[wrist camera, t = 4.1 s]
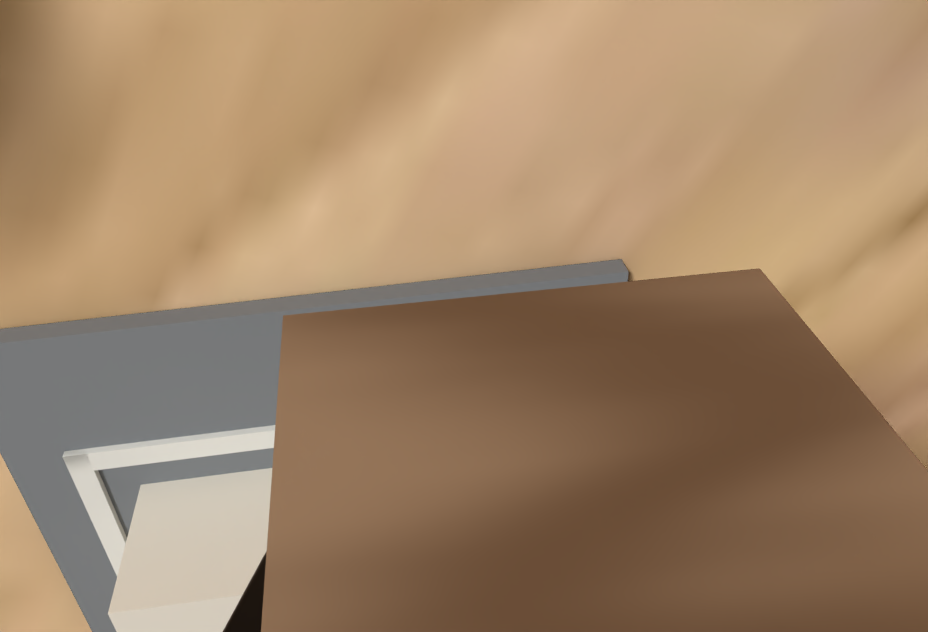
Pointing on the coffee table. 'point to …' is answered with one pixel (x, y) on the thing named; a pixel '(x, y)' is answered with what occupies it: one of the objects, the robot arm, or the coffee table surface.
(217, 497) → the base block
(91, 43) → the coffee table surface
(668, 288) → the walnut cube
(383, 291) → the grey flat rectangular panel
